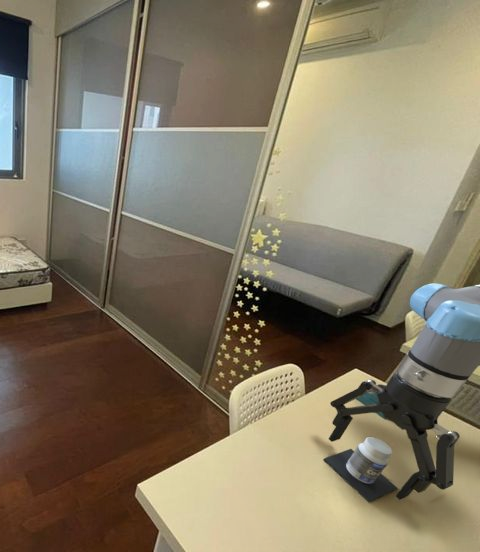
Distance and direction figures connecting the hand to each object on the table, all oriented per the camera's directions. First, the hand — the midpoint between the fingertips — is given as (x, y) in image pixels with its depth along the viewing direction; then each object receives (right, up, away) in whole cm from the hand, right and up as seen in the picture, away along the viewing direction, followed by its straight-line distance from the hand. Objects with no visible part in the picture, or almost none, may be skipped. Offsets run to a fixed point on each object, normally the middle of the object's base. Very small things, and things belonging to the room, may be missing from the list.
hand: (365, 465), depth 65 cm
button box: (+22, +4, +21) cm, 31 cm away
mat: (0, -2, +1) cm, 3 cm away
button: (+22, +7, +19) cm, 30 cm away
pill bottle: (-1, -2, +1) cm, 2 cm away
